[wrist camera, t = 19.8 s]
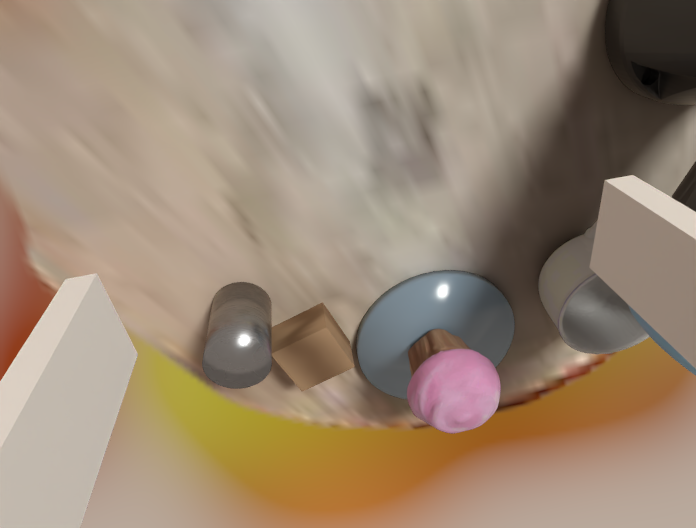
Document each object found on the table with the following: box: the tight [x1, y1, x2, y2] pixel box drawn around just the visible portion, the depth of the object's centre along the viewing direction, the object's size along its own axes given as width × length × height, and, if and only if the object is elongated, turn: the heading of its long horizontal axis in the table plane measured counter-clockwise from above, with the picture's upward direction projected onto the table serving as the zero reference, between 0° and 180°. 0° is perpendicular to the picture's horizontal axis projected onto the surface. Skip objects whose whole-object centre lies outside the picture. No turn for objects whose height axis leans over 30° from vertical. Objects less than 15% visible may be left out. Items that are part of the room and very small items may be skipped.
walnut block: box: [272, 303, 355, 391], centre depth 48 cm, size 6×6×4 cm
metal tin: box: [202, 282, 272, 389], centre depth 43 cm, size 6×6×8 cm
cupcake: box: [407, 329, 501, 433], centre depth 47 cm, size 9×9×10 cm
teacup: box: [538, 220, 650, 354], centre depth 45 cm, size 14×11×8 cm
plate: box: [356, 270, 515, 399], centre depth 51 cm, size 17×17×1 cm
